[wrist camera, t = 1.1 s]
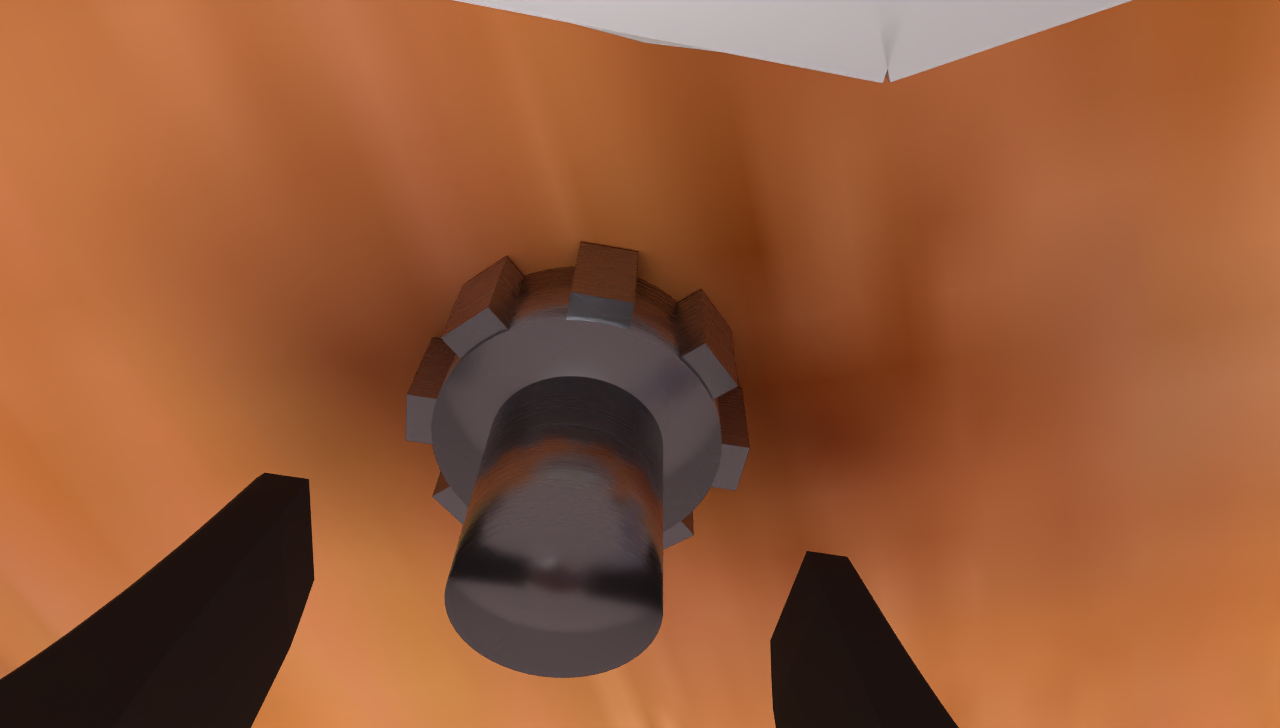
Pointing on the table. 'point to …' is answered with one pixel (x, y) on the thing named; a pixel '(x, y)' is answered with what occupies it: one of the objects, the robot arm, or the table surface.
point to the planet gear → (573, 454)
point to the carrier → (821, 28)
